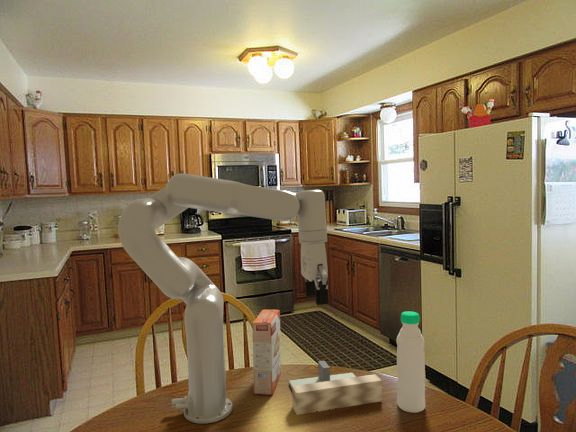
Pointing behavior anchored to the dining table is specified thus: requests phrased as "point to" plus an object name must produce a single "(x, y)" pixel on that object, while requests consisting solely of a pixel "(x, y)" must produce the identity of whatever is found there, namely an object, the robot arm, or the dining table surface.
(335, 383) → the birch bar
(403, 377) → the water bottle
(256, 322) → the cracker box
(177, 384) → the dining table surface
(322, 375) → the stand
